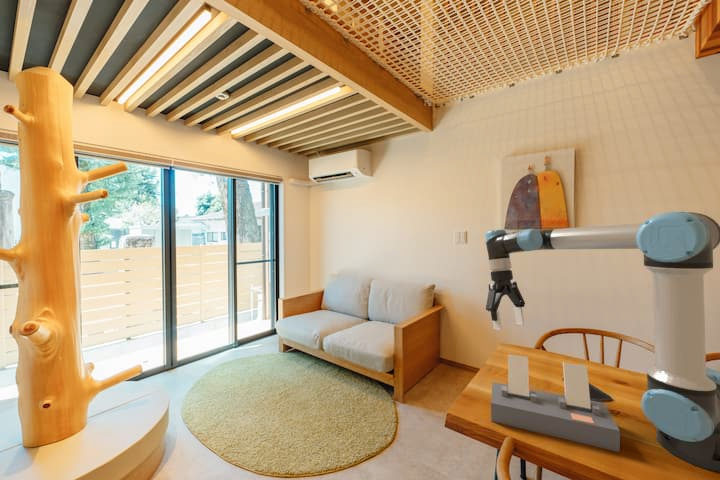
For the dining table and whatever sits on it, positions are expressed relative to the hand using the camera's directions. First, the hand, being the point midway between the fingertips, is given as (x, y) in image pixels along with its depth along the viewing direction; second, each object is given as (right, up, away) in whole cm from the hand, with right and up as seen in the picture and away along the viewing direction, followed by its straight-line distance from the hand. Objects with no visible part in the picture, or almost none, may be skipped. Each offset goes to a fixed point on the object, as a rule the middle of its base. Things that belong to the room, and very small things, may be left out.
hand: (509, 327), depth 111 cm
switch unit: (+3, -25, -17) cm, 30 cm away
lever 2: (+10, -19, -21) cm, 30 cm away
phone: (+29, -24, 0) cm, 38 cm away
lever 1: (-4, -19, -14) cm, 24 cm away
